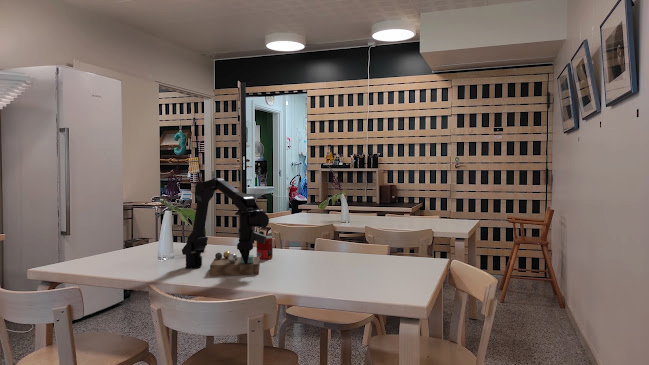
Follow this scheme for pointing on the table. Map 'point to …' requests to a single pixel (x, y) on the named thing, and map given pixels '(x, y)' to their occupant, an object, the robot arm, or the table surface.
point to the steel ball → (232, 258)
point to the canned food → (265, 249)
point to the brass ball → (226, 254)
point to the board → (234, 267)
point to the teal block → (250, 259)
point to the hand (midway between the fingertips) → (246, 263)
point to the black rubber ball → (218, 255)
